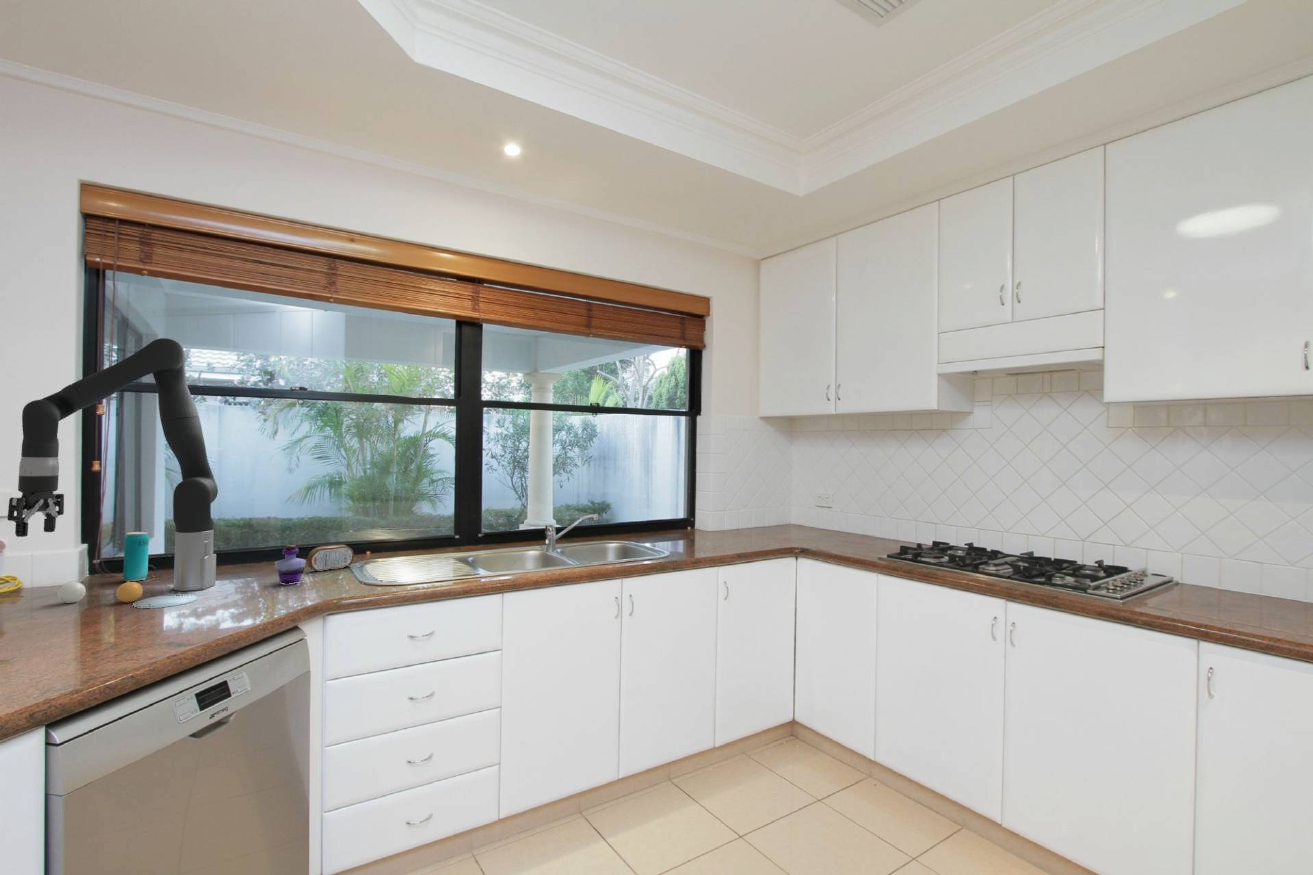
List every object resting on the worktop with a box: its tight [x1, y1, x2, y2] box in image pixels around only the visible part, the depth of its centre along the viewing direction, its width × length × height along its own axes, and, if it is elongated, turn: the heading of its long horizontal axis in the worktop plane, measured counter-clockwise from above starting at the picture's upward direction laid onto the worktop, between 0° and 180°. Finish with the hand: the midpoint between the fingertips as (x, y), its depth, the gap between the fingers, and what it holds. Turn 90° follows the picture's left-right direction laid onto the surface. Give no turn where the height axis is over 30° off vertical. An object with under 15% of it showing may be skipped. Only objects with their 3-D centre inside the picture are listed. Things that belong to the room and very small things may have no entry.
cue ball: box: [57, 581, 87, 604], centre depth 163 cm, size 6×6×6 cm
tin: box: [306, 544, 355, 571], centre depth 211 cm, size 15×3×8 cm, turn 141°
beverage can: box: [123, 531, 150, 582], centre depth 189 cm, size 6×6×15 cm
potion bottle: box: [274, 544, 307, 584], centre depth 191 cm, size 9×9×12 cm
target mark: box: [131, 593, 198, 609], centre depth 167 cm, size 14×14×1 cm
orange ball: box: [115, 581, 144, 603], centre depth 165 cm, size 6×6×6 cm
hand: (35, 534), depth 162 cm, fingers open, 8 cm apart
